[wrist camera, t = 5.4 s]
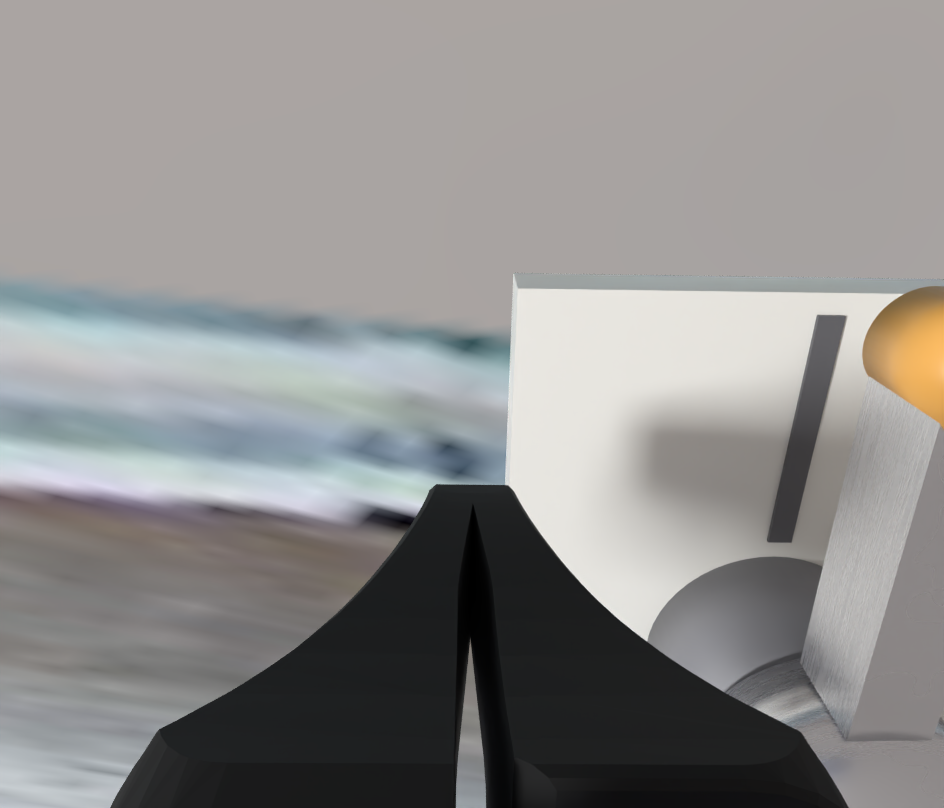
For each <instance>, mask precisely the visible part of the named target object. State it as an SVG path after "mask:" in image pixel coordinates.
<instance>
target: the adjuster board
mask: <svg viewBox="0 0 944 808" xmlns="http://www.w3.org/2000/svg"><path fill="white" fill-rule="evenodd" d="M928 286H944V279H885V278H884V279H883V278H877V279H876V278H815V277H814V278H813V277H811V278H810V277H745V276H675V275H673V276H671V275H605V274H533V273H514V276H513V300H512V325H511V350H510V374H509V399H508V424H507V448H506V473H505V485H508V486H509V487H510V488H511V489H512V490H513V491H514V492H515V494H516V496H517V498H518V500H519V501H520V503H521V505H522V507H523V508H524V510H525V511H526V513H527V515H528V516H529V518H530V519H531V521H532V522H533V524H534V525H535V527H536V528H537V529H538V531H539V532H540V534H541V535H542V536H543V538H544V539H545V540H546V542H547V543H548V544H549V546H550V547H551V548H552V549H553V551H554V552H555V553H556V555H557V556H558V557H559V558H560V560H561V561H562V562H563V563H564V564H565V566H566V567H567V568H568V569H569V570H570V571H571V572H572V574H573V575H574V576H575V577H576V578H577V579H578V580H579V581H580V583H581V584H582V585H583V586H584V587H585V588H586V589H587V590H588V591H589V592H590V593H591V594H592V595H593V596H594V597H595V598H596V599H597V600H598V601H599V602H600V603H601V604H602V605H603V606H604V607H606V608H607V609H608V610H609V611H610V612H611V613H612V614H613V615H614V616H615V617H617V618H618V619H619V620H620V621H621V622H623V623H624V624H625V625H626V626H627V627H629V628H630V629H631V630H632V631H634V632H635V633H636V634H638V635H639V636H640V637H642V638H643V639H644V640H646V641H647V642H648V643H650V644H651V645H652V646H654V647H655V648H656V649H658V650H659V651H660V652H662V653H663V654H665V655H666V656H667V657H669V658H670V659H672V660H673V661H675V662H676V663H678V664H679V665H681V666H682V667H684V668H685V669H687V670H688V671H690V672H692V673H693V674H695V675H697V676H698V677H700V678H702V679H703V680H705V681H707V682H708V683H710V684H711V685H713V686H715V687H716V688H718V689H720V690H721V691H723V692H727V691H728V690H729V689H731V688H732V687H733V686H735V685H736V684H738V683H739V682H741V681H743V680H744V679H746V678H748V677H749V676H751V675H754V674H756V673H758V672H760V671H762V670H764V669H767V668H769V667H772V666H775V665H778V664H781V663H784V662H788V661H792V660H796V659H801V655H802V651H803V647H804V643H805V639H806V635H807V631H808V626H809V622H810V618H811V614H812V610H813V606H814V602H815V597H816V593H817V589H818V585H819V581H820V577H821V572H822V568H823V564H824V560H825V556H826V552H827V548H828V543H829V539H830V535H831V531H832V527H833V523H834V519H835V514H836V510H837V506H838V502H839V498H840V494H841V489H842V485H843V481H844V477H845V473H846V469H847V465H848V460H849V456H850V452H851V448H852V444H853V440H854V435H855V431H856V427H857V423H858V419H859V415H860V411H861V406H862V402H863V398H864V394H865V390H866V386H867V382H868V375H867V373H866V371H865V368H864V365H863V359H862V349H863V343H864V340H865V337H866V334H867V332H868V329H869V327H870V326H871V324H872V322H873V321H874V320H875V318H876V317H877V315H878V314H879V313H880V312H881V311H882V310H883V309H884V308H885V307H886V306H887V305H888V304H890V303H891V302H892V301H894V300H895V299H896V298H898V297H900V296H902V295H903V294H905V293H907V292H910V291H912V290H915V289H918V288H922V287H928ZM940 717H941V718H942V719H943V721H944V708H943V711H942V713H941V716H940Z"/></svg>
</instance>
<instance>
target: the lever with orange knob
mask: <svg viewBox="0 0 944 808" xmlns="http://www.w3.org/2000/svg"><path fill="white" fill-rule="evenodd" d="M862 359H863V365H864V368H865V371H866V373H867V375H868V382H867V386H866V390H865V394H864V398H863V402H862V406H861V411H860V415H859V419H858V423H857V427H856V431H855V435H854V440H853V444H852V448H851V452H850V456H849V460H848V465H847V469H846V473H845V477H844V481H843V485H842V489H841V494H840V498H839V502H838V506H837V510H836V514H835V519H834V523H833V527H832V531H831V535H830V539H829V543H828V548H827V552H826V556H825V560H824V564H823V568H822V572H821V577H820V581H819V585H818V589H817V593H816V597H815V602H814V606H813V610H812V614H811V618H810V622H809V626H808V631H807V635H806V639H805V643H804V647H803V651H802V655H801V659H796V660H792V661H788V662H784V663H781V664H778V665H775V666H772V667H769V668H767V669H764V670H762V671H760V672H758V673H756V674H754V675H751V676H749V677H748V678H746V679H744V680H743V681H741V682H739V683H738V684H736V685H735V686H733V687H732V688H731V689H729V690H728V691H727V692H725V693H726V694H728V695H730V696H732V697H734V698H736V699H738V700H740V701H742V702H743V703H745V704H747V705H749V706H751V707H753V708H755V709H757V710H759V711H761V712H763V713H765V714H767V715H769V716H771V717H773V718H775V719H777V720H779V721H781V722H783V723H784V724H786V725H788V726H790V727H792V728H794V729H796V730H798V731H800V732H801V733H802V734H803V736H804V737H805V739H806V741H807V742H808V744H809V745H810V747H811V748H812V750H813V751H814V752H815V754H816V755H817V757H818V758H819V760H820V761H821V762H822V764H823V765H824V767H825V768H826V770H827V771H828V773H829V774H830V776H831V778H832V779H833V781H834V783H835V784H836V786H837V788H838V789H839V791H840V793H841V794H842V796H843V798H844V800H845V802H846V804H847V805H848V807H849V808H944V721H943V719H942V718H941V717H940V716H941V713H942V711H943V708H944V286H928V287H922V288H918V289H915V290H912V291H910V292H907V293H905V294H903V295H902V296H900V297H898V298H896V299H895V300H894V301H892V302H891V303H890V304H888V305H887V306H886V307H885V308H884V309H883V310H882V311H881V312H880V313H879V314H878V315H877V317H876V318H875V320H874V321H873V322H872V324H871V326H870V327H869V329H868V332H867V334H866V337H865V340H864V343H863V349H862Z"/></svg>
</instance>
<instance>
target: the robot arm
mask: <svg viewBox="0 0 944 808" xmlns="http://www.w3.org/2000/svg"><path fill="white" fill-rule="evenodd" d="M470 638H471V647H472V656H473V666H474V675H475V684H476V692H477V701H478V710H479V719H480V728H481V737H482V746H483V754H484V767H485V781H486V808H849V807H848V805H847V804H846V802H845V800H844V798H843V796H842V794H841V793H840V791H839V789H838V788H837V786H836V784H835V783H834V781H833V779H832V778H831V776H830V774H829V773H828V771H827V770H826V768H825V767H824V765H823V764H822V762H821V761H820V760H819V758H818V757H817V755H816V754H815V752H814V751H813V750H812V748H811V747H810V745H809V744H808V742H807V741H806V739H805V737H804V736H803V734H802V733H801V732H800V731H798V730H796V729H794V728H792V727H790V726H788V725H786V724H784V723H783V722H781V721H779V720H777V719H775V718H773V717H771V716H769V715H767V714H765V713H763V712H761V711H759V710H757V709H755V708H753V707H751V706H749V705H747V704H745V703H743V702H742V701H740V700H738V699H736V698H734V697H732V696H730V695H728V694H726V693H725V692H723V691H721V690H720V689H718V688H716V687H715V686H713V685H711V684H710V683H708V682H707V681H705V680H703V679H702V678H700V677H698V676H697V675H695V674H693V673H692V672H690V671H688V670H687V669H685V668H684V667H682V666H681V665H679V664H678V663H676V662H675V661H673V660H672V659H670V658H669V657H667V656H666V655H665V654H663V653H662V652H660V651H659V650H658V649H656V648H655V647H654V646H652V645H651V644H650V643H648V642H647V641H646V640H644V639H643V638H642V637H640V636H639V635H638V634H636V633H635V632H634V631H632V630H631V629H630V628H629V627H627V626H626V625H625V624H624V623H623V622H621V621H620V620H619V619H618V618H617V617H615V616H614V615H613V614H612V613H611V612H610V611H609V610H608V609H607V608H606V607H604V606H603V605H602V604H601V603H600V602H599V601H598V600H597V599H596V598H595V597H594V596H593V595H592V594H591V593H590V592H589V591H588V590H587V589H586V588H585V587H584V586H583V585H582V584H581V583H580V581H579V580H578V579H577V578H576V577H575V576H574V575H573V574H572V572H571V571H570V570H569V569H568V568H567V567H566V566H565V564H564V563H563V562H562V561H561V560H560V558H559V557H558V556H557V555H556V553H555V552H554V551H553V549H552V548H551V547H550V546H549V544H548V543H547V542H546V540H545V539H544V538H543V536H542V535H541V534H540V532H539V531H538V529H537V528H536V527H535V525H534V524H533V522H532V521H531V519H530V518H529V516H528V515H527V513H526V511H525V510H524V508H523V507H522V505H521V503H520V501H519V500H518V498H517V496H516V494H515V492H514V491H513V490H512V489H511V488H510V487H509V486H508V485H440V484H436V485H435V486H434V487H433V488H432V489H430V490H429V493H428V496H427V498H426V500H425V502H424V504H423V506H422V508H421V509H420V511H419V513H418V514H417V516H416V518H415V519H414V521H413V523H412V524H411V526H410V527H409V529H408V530H407V532H406V533H405V534H404V536H403V537H402V539H401V540H400V542H399V543H398V545H397V546H396V547H395V549H394V550H393V551H392V553H391V554H390V555H389V557H388V558H387V559H386V560H385V561H384V563H383V564H382V565H381V566H380V567H379V569H378V570H377V571H376V572H375V574H374V575H373V576H372V577H371V578H370V580H369V581H368V582H367V583H366V584H365V585H364V586H363V587H362V588H361V590H360V591H359V592H358V593H357V594H356V595H355V596H354V597H353V598H352V599H351V600H350V601H349V602H348V603H347V604H346V605H345V606H344V607H343V608H342V609H341V610H340V611H339V612H338V613H337V614H336V615H334V616H333V617H332V618H331V619H330V620H329V621H328V622H327V623H325V624H324V625H323V626H322V627H321V628H320V629H318V630H317V631H316V632H315V633H314V634H313V635H311V636H310V637H309V638H308V639H307V640H305V641H304V642H303V643H302V644H300V645H299V646H298V647H297V648H295V649H294V650H293V651H291V652H290V653H289V654H287V655H286V656H284V657H283V658H281V659H280V660H279V661H277V662H276V663H274V664H273V665H271V666H270V667H268V668H267V669H265V670H264V671H262V672H261V673H259V674H258V675H256V676H254V677H253V678H251V679H250V680H248V681H247V682H245V683H244V684H242V685H240V686H239V687H237V688H235V689H234V690H232V691H230V692H228V693H227V694H225V695H223V696H221V697H219V698H218V699H216V700H214V701H212V702H210V703H208V704H207V705H205V706H203V707H201V708H199V709H197V710H195V711H194V712H192V713H190V714H188V715H186V716H184V717H182V718H181V719H179V720H177V721H175V722H173V723H171V724H169V725H167V726H165V727H163V728H161V729H159V730H158V731H157V733H156V734H155V736H154V737H153V739H152V741H151V742H150V744H149V745H148V747H147V748H146V750H145V752H144V753H143V755H142V756H141V758H140V759H139V760H138V762H137V763H136V765H135V766H134V768H133V769H132V771H131V772H130V774H129V776H128V777H127V779H126V781H125V782H124V784H123V785H122V787H121V789H120V790H119V792H118V794H117V796H116V797H115V799H114V801H113V803H112V805H111V807H110V808H456V778H457V762H458V751H459V741H460V731H461V722H462V712H463V703H464V693H465V684H466V674H467V664H468V654H469V645H470Z"/></svg>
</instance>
